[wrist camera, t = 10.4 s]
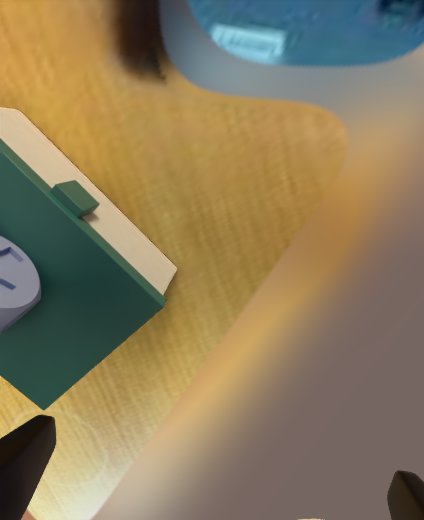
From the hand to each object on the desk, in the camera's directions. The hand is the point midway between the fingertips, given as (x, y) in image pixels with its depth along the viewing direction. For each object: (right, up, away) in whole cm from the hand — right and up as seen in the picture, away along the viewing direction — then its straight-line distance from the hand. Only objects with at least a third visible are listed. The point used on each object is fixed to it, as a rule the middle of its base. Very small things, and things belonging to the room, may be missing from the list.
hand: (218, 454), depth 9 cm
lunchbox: (-9, +6, +11) cm, 16 cm away
